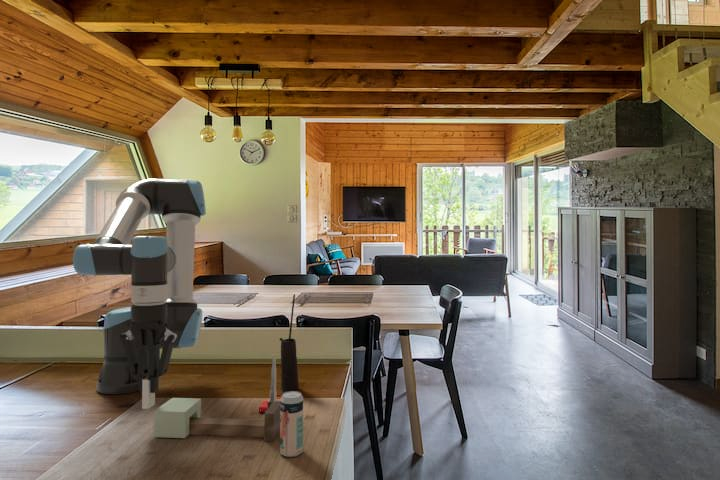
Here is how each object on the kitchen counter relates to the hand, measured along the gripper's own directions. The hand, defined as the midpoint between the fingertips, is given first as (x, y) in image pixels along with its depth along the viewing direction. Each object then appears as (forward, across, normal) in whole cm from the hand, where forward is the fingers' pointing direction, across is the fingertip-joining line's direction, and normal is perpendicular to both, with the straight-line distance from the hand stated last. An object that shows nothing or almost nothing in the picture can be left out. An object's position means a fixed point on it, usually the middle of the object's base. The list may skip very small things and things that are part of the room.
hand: (148, 406), depth 99 cm
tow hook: (+6, +26, +16) cm, 31 cm away
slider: (+6, +7, 0) cm, 9 cm away
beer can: (+6, +35, -8) cm, 36 cm away
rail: (+6, +16, 0) cm, 17 cm away
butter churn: (+5, +25, +29) cm, 39 cm away
